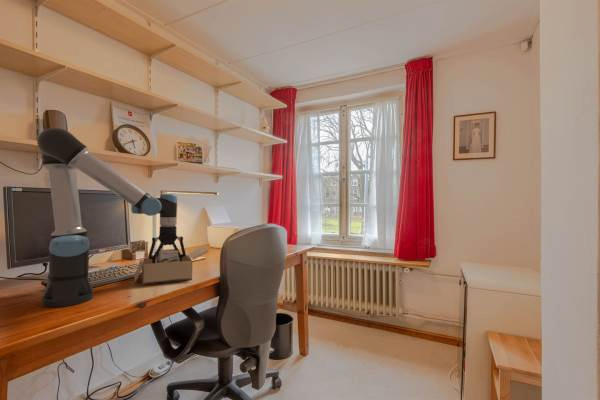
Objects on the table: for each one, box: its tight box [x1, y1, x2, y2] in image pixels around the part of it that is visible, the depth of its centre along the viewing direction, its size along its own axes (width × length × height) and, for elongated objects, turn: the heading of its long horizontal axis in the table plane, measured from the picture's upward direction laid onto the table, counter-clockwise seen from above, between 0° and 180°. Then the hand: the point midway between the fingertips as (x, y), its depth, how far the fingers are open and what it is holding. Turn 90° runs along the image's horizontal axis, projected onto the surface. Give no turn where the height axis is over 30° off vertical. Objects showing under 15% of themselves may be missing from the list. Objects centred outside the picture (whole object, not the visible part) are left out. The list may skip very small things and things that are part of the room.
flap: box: [188, 245, 209, 261], centre depth 148 cm, size 1×14×8 cm
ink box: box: [157, 248, 179, 263], centre depth 141 cm, size 9×5×12 cm, turn 134°
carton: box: [134, 254, 193, 286], centre depth 141 cm, size 24×21×9 cm
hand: (167, 271), depth 141 cm, fingers closed on ink box, 9 cm apart
